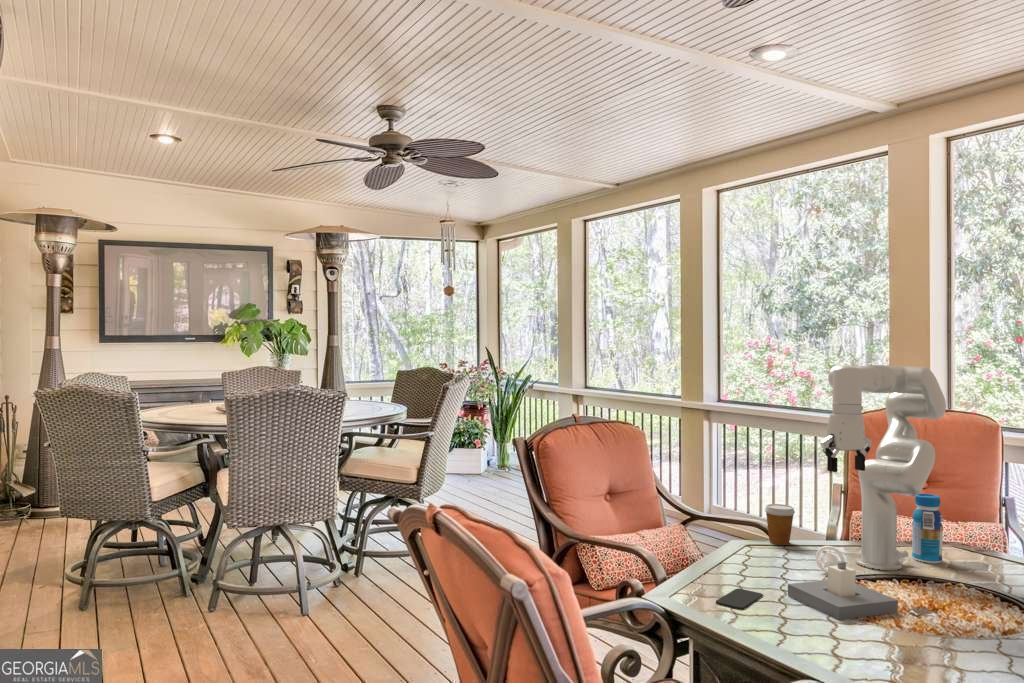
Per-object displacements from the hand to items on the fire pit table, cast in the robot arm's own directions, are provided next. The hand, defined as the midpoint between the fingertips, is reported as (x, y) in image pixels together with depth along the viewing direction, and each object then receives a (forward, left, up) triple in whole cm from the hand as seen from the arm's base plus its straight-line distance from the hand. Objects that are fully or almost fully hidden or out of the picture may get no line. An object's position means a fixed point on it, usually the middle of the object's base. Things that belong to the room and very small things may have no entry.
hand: (846, 470), depth 209 cm
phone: (+40, +7, -31) cm, 51 cm away
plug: (+17, +17, -30) cm, 39 cm away
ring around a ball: (+2, -4, -31) cm, 31 cm away
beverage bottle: (-39, -8, -31) cm, 50 cm away
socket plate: (+17, +17, -30) cm, 39 cm away
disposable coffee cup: (-8, -38, -31) cm, 49 cm away
